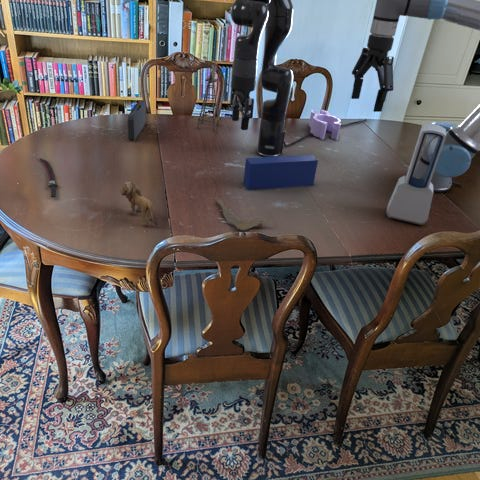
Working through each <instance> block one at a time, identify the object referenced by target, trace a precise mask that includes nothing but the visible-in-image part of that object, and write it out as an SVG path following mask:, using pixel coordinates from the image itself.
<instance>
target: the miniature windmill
mask: <svg viewBox="0 0 480 480" xmlns="http://www.w3.org/2000/svg"><path fill="white" fill-rule="evenodd" d="M211 63H212V64H210V65H209V63H205V62H201V65H200V66H201V69H210V74H209V76H208V77H207V78H206V79H205V82H207V84H206V90H205V91H204V92H205V93H204V96H203V101H202V102H201V103H202V105H201V108H200V112H199V117H198V118H197V124H196V129H198V128H199V126H200V122H201V123H202V124H203V123H204V122H207V123H213V132H216V122H217V125H218V126H220V116H219V111H218V102H217V95H216V85H215V83H216V82H219V79H217V78H215V77H216V75H217V74H216V73H217V69H218V67H217V66H218V61H217V56H216V55H215V56H214V59H212V62H211ZM210 89H211V94H210V93H209V90H210ZM208 99H210V100H211V101H212V103H211V104H210V103H207V101H208ZM207 106H212V108H210V107H207ZM206 110H211V111H212V115H210V114H205V112H206ZM215 111H216V115H215ZM205 117H210V118H212V120H206V119H205ZM204 119H205V120H204Z"/></svg>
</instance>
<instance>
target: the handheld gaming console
mask: <svg viewBox="0 0 480 480" xmlns="http://www.w3.org/2000/svg"><path fill="white" fill-rule="evenodd" d="M146 103H147V102H146V100H144V99H143V100H142V99H140V100H138V102H137V103H135V105H134V107H133V108H132V109H131V110H130V112H129V113H128V115H127V138H128V140H130V141H135V140H137V138H138V136H139V134H140V133H141V132H142V130H143V128H144V126H145V125H146V122H147V107H146V106H147V104H146Z"/></svg>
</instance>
